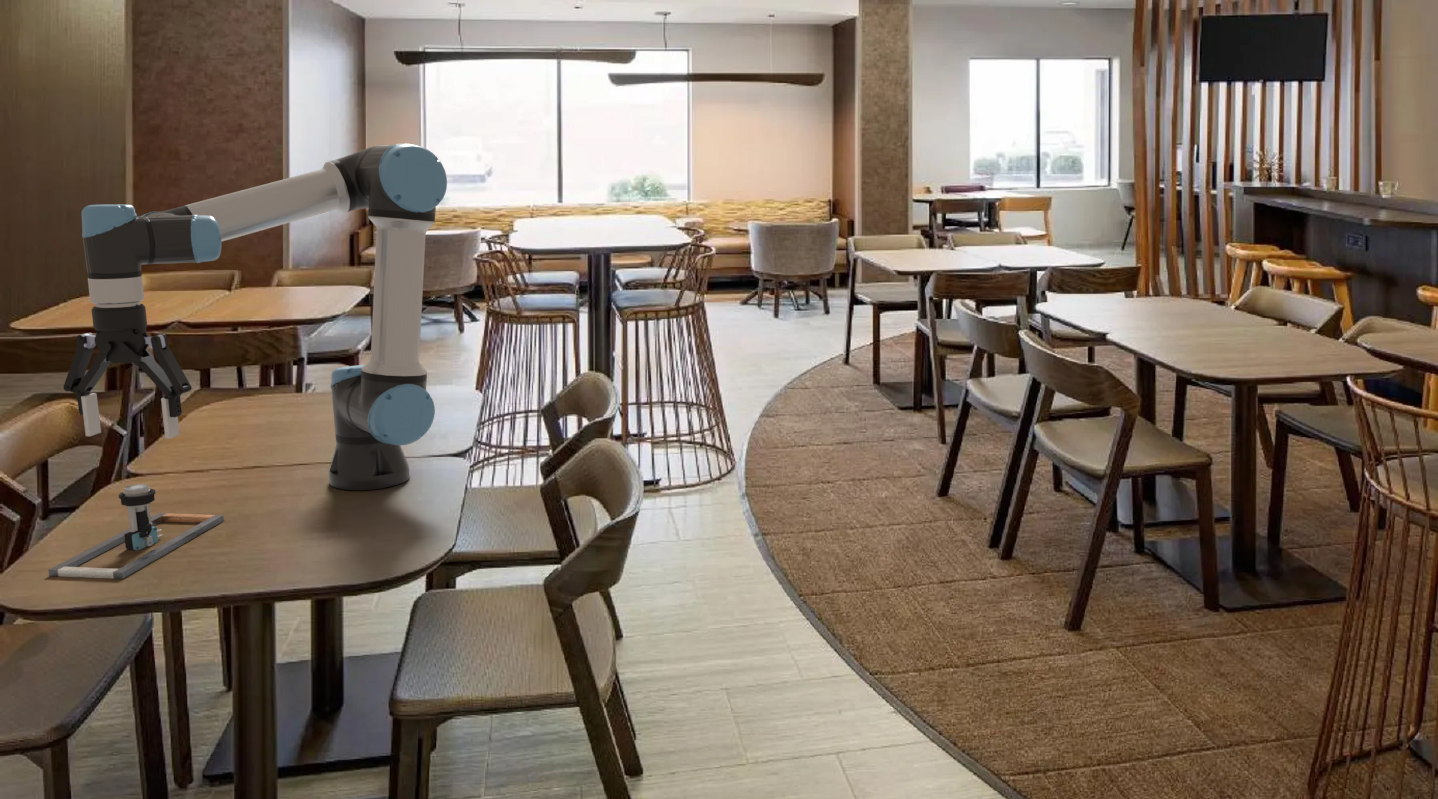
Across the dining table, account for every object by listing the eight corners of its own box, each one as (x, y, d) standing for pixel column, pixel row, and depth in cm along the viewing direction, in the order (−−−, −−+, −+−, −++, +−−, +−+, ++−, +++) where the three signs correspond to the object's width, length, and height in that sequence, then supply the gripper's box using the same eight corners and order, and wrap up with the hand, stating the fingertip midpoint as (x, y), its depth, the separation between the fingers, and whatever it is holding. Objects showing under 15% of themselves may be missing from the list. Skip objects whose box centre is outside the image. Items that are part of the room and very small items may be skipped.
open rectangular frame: (223, 520, 195) (223, 515, 195) (122, 578, 168) (122, 572, 168) (159, 518, 197) (159, 513, 197) (49, 575, 170) (48, 569, 169)
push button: (149, 536, 187) (142, 479, 185) (174, 539, 186) (168, 481, 184) (117, 549, 181) (110, 490, 179) (143, 552, 180) (136, 493, 177)
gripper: (206, 302, 177) (218, 432, 182) (60, 300, 180) (76, 428, 185) (178, 308, 170) (192, 443, 175) (27, 305, 173) (44, 438, 177)
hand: (132, 435), depth 180 cm, fingers open, 13 cm apart
